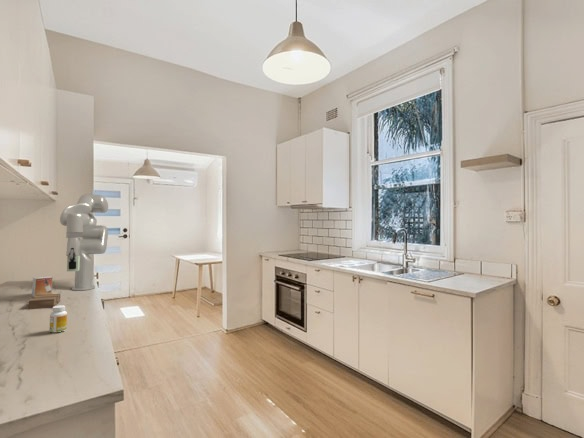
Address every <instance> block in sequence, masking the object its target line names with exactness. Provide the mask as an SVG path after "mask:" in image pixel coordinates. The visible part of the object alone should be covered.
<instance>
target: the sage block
mask: <svg viewBox="0 0 584 438" xmlns="http://www.w3.org/2000/svg"><path fill="white" fill-rule="evenodd" d="M66 257H67V258H66V259H67V261H66V272H75V271H79V268H80V256H76V261H75V262H76V269H69V258H70V256H66Z"/></svg>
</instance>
